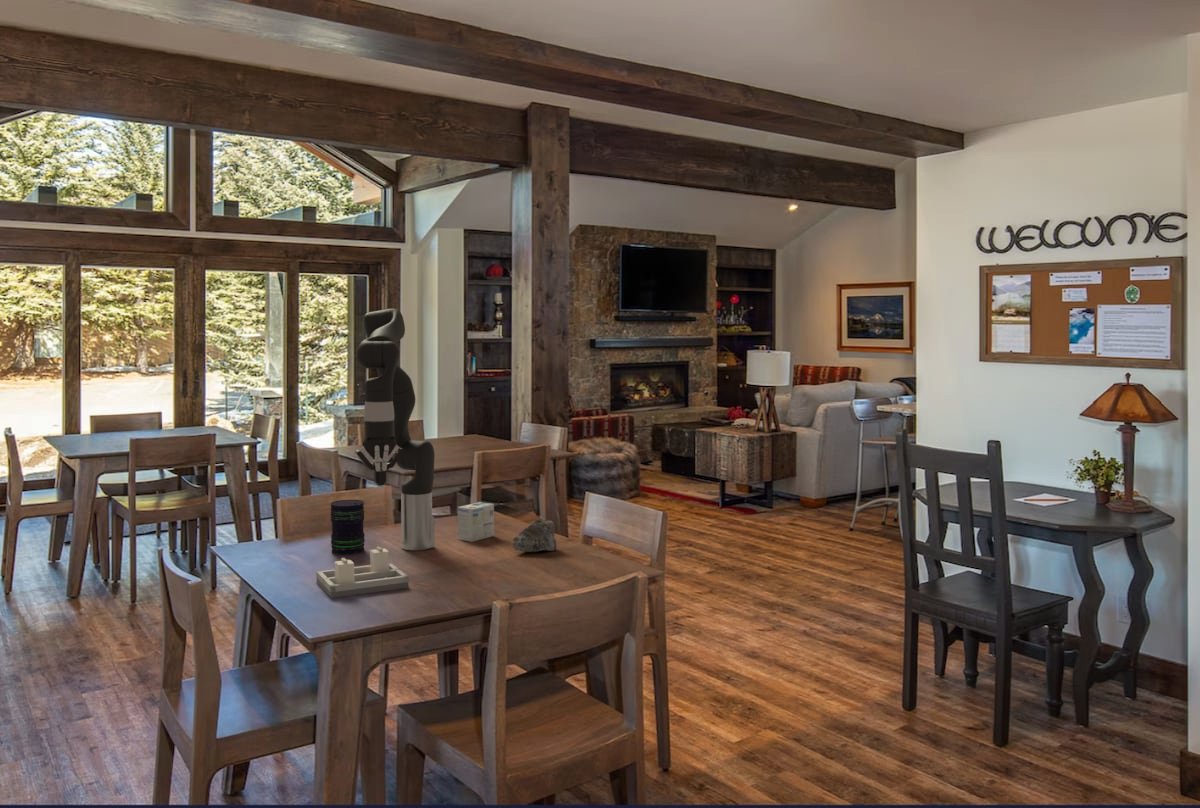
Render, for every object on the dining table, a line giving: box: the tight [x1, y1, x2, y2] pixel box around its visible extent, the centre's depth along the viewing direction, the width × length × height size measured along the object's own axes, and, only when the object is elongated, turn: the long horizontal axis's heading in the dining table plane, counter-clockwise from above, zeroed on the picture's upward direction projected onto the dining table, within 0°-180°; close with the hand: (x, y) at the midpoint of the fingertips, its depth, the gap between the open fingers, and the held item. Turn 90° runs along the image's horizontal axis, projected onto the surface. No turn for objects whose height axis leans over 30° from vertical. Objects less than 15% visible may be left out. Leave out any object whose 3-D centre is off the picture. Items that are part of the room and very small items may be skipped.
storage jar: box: [330, 499, 366, 556], centre depth 280 cm, size 10×10×15 cm
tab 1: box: [334, 557, 355, 584], centre depth 238 cm, size 4×4×7 cm
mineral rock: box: [512, 518, 557, 553], centre depth 282 cm, size 13×11×10 cm
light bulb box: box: [457, 501, 495, 543], centre depth 299 cm, size 11×7×11 cm, turn 144°
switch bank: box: [316, 562, 409, 599], centre depth 244 cm, size 20×16×3 cm
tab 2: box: [369, 546, 390, 572], centre depth 250 cm, size 4×4×7 cm
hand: (380, 485), depth 241 cm, fingers closed
